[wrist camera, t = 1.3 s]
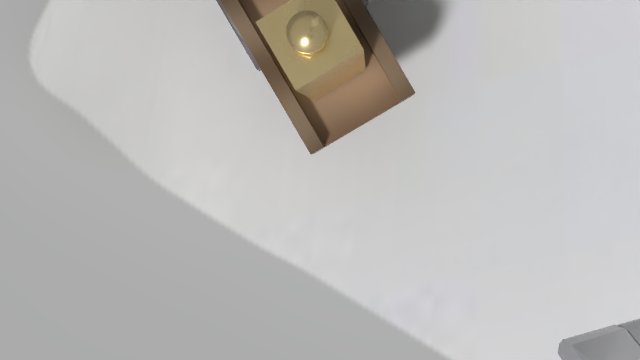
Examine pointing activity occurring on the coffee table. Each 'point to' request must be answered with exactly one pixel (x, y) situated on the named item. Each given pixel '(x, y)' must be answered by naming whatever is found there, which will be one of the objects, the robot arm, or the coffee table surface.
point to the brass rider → (313, 45)
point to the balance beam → (341, 103)
